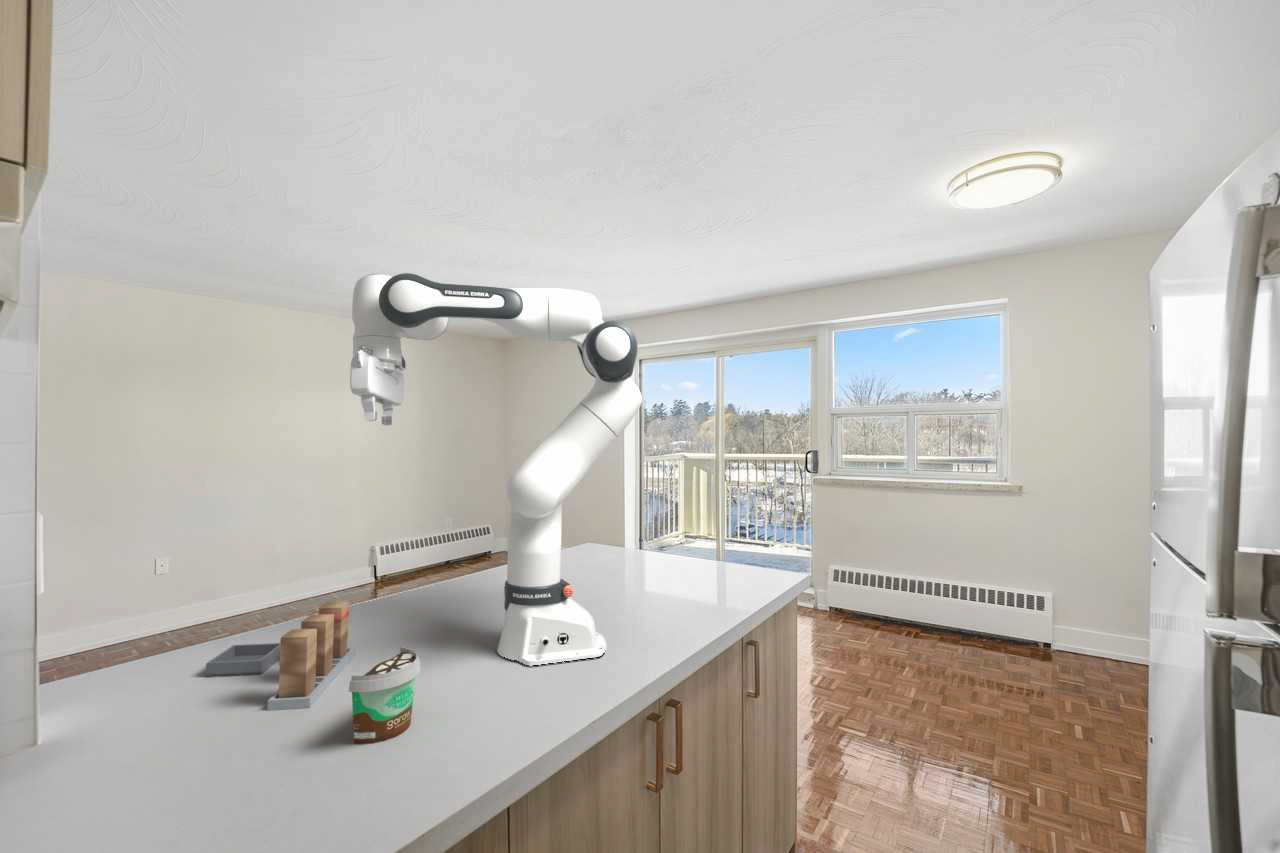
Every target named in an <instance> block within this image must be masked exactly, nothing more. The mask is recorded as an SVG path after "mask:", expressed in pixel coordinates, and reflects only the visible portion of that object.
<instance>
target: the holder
mask: <svg viewBox="0 0 1280 853" xmlns="http://www.w3.org/2000/svg"><path fill="white" fill-rule="evenodd" d="M355 653H356V647H347V654H346V655H345V656H344V657H343V658H342V659H333V664H332V670H331V671H330V672H329V674H328V675H327V676H319V677H315V689H314V690H313V691H312V692H311V694H310V695H309V696H308V697H295V698H279V689H278V690H277V691H276V692H275V693H274V694H273V695H272V696H271V697H270V698H269V699H268V700H267V707H266V708H267V711H274V710H276V711H278V710H293V709H309V708H311V707H312V706H313V705H314V704H315V702H316V701H317V700H318V699H319V698H320V697H321V695H323V693H324V692H325V690H326V689H327V688H329V686H330V685H331V684H332V682H334V680H335V679H336V678H337V676H338V675H339V674H340V673H341V672H342V671H343V669H344V668H345V667H346V666H347V665H348V664H349V663H350V661H351V660H352V659H353V658H354V656H355V655H356V654H355Z"/></svg>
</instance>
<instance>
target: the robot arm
mask: <svg viewBox="0 0 1280 853" xmlns="http://www.w3.org/2000/svg"><path fill="white" fill-rule="evenodd" d="M351 304H352V306H351V308H352V309H351V311H352V312H351V314H352V316H351V317H352V318H351V319H352V321H353V325H354V333H353V336H352V358H351V362H350V369H349V370H350V371H349V373H350V374H349V375H350V376H349V377H350V378H349V386H350V387H349V388H350V391H351V394H353V395H355V396H356V395H357V396H359V397H360V403H361V406H362V408H363V409H362V410H363V411H364V412H363V413H364V414H363V415H364V420H365V421H368V422H375V421H377V419H378V417H377V416H378V413H377V411H376V406H375V403H378V404H380V405H382V407H381V408H382V416H381V424H382V425H383V426H392V425H393V424H394V419H393V418H394V414H395V409H396V406H397V407H398V406H402V404H403V401H404V394H405V391H404V390H405V376H404V371H406V370H407V361H406V360H405V358H404V356H403V353H402V352H403V351H402V346H401V345H402V344H401V342H402V341H401V339H402V338H406V339H410V340H411V339H412V340H418V341H419V340H421V341H431V340H435V339H437V338H439V337H440V336H442V334H444V332H445V331H446V330H447V327H448V324H449V319H469V320H483V321H487V322H490V323H494V324H495V325H498V326H499V327H502V328H503V329H504V330H506V331H508V332H509V333H510V334H512V335H514V336H515V337H516V338H519V339H522V340H529V341H530V340H531V341H537V342H538V341H539V342H549V341H551V342H563V341H564V342H570V343H574V344H576V345H577V349H578V352H579V354H580V357H581V360H582V363H583V366H584V368H585V370H586V371H587V372H588V374H590V375H591V376H592V377H593V378H594V380H595V382H594V384H593V386H592V388H591V390H590V391H589V392H588V393H587V395H585V397H583V398H582V400H580V401H579V403H578V404H577V405H576V406H574V408H573V409H572V410H571V412H570V413H568V415H567V416H566V417H565V418H564V419H563V420H562V421H561V422H560V423H559V424H558V425H557V426H556V428H555V429H553V431H552V432H550V434H549V435H548V436H547V437H546V438H545V439H544V440H543V441H542V443H541V444H540V445H539V446H538V447H536V449H535V450H534V451H533V452H532V453H531V454H530V455H529V456H528V457H527V458H526V459H525V460H524V462H522V463H521V465H520V466H519V467H518V468H517V469H516V470H515V471H514V472H513V473H512V475H511V477H510V478H509V480H508V483H507V486H506V487H507V488H506V495H507V500H508V503H509V504H510V512H509V513H510V516H509V527H508V528H509V529H508V530H509V531H508V541H507V565H506V566H507V567H506V568H507V570H506V571H507V572H506V574H507V577H506V581H505V582H504V587H503V606H504V607H503V608H504V618H503V619H504V620H503V624H502V625H503V626H502V629H501V636H500V639H499V641H498V642H499V643H498V646H497V649H496V651H497V652H496V653H497V654H498V655H499V656H501V657H502V658H504V657H505V658H504V659H507V658H508V659H507V660H510V659H511V661H514V660H517V661H516V662H518V661H519V663H521V662H522V663H523V664H522V663H521V664H522V665H524V664H525V665H524V666H526V665H529V666H528V667H534V666H533V665H539V666H542V665H541V664H546V665H549V664H548V663H554V664H557V663H556V662H562V661H563V662H562V663H565V662H564V661H570V662H572V661H571V660H577V659H585V658H592V657H598V656H601V655H602V654H603V653H604V652H605V650H606V651H607V642H606V639H605V637H604V636H603V635H602V634H601V633H599V632H597V627H596V624H595V621H594V618H593V615H592V613H591V612H589V611H588V610H587V609H586V608H585V607H583V606H582V605H580V604H579V603H578V602H576V601H575V600H574V599H573V598H572V596H574V589H573V586H571V584H570V583H569V582H568V581H567V579H563V578H561V577H562V575H561V574H562V573H561V572H562V535H563V534H562V532H563V531H562V529H563V528H562V524H563V523H562V519H563V501H564V500H565V499H566V498H567V497H568V496H569V494H571V492H572V491H573V490H574V489H575V488H576V486H577V485H578V483H579V482H580V481H581V480H582V479H583V478H584V477H585V476H586V474H587V473H588V471H589V470H590V469H591V468H592V466H593V465H594V464H595V463H596V462H597V461H598V460H599V459H600V458H601V456H602V455H603V454H604V453H606V451H607V450H608V449H609V448H610V447H611V446H612V444H613V443H614V442H615V441H616V440H617V439H618V438H619V436H621V434H622V433H623V432H624V431H625V429H626V428H627V427H628V426H629V424H630V423H631V421H632V420H633V419H634V417H636V416H635V415H637V412H638V411H639V409H640V407H641V405H642V402H643V397H642V393H641V391H640V388H639V387H638V386H637V385H636V383H635V382H634V381H633V380H632V378H631V377H632V376H633V372H634V369H635V364H636V360H637V356H638V341H637V338H636V336H635V334H634V332H633V330H632V328H630V327H629V326H628V325H626V324H624V322H621V321H616V320H608V321H604V320H603V318H602V309H601V306H600V302H599V300H598V299H597V297H596V296H595V295H593V294H592V293H590V292H586V291H581V290H576V289H567V288H556V287H553V288H551V287H549V288H547V287H527V288H526V287H525V288H524V287H523V288H522V287H521V288H518V287H516V288H515V287H513V288H511V287H497V286H483V285H470V284H469V285H467V284H453V283H442V282H437V281H433V280H430V279H428V278H425V277H423V276H420V275H418V274H415V273H411V272H410V273H409V272H406V273H399V274H397V275H393V276H391V275H389V274H383V273H381V274H380V273H372V274H367V275H365V276H363V277H360V278H359V279H358V280H357V281H356V282H355V285H354V288H353V293H352V302H351ZM605 653H606V652H605Z"/></svg>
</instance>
